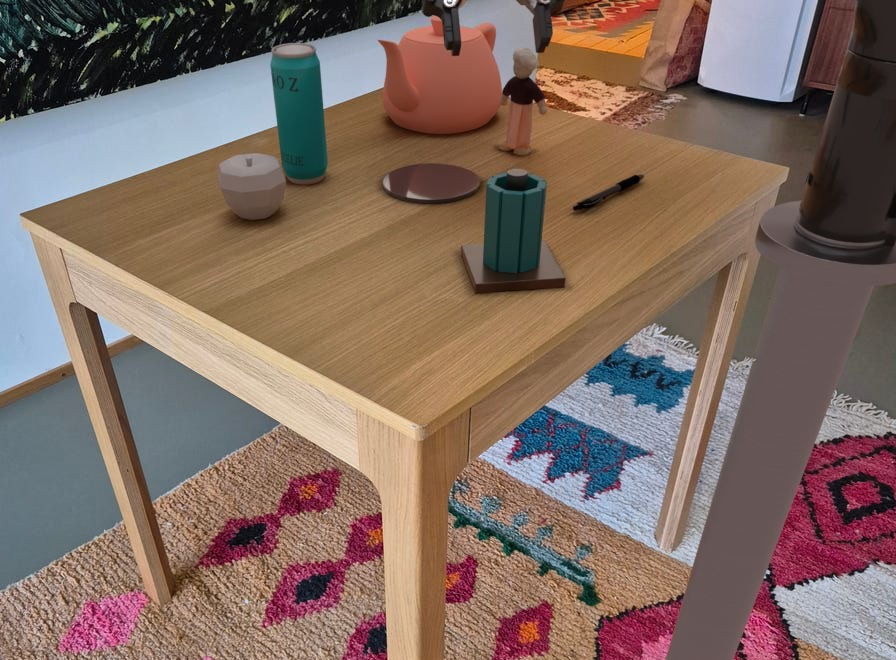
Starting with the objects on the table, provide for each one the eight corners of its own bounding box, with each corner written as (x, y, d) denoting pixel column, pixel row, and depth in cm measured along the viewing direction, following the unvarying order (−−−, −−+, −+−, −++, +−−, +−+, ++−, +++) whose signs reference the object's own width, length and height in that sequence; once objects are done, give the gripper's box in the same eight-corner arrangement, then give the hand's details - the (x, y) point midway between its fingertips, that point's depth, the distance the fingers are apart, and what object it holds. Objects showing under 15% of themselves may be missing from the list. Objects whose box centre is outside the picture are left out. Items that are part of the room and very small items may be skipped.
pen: (581, 216, 95) (582, 206, 94) (569, 212, 96) (570, 202, 95) (650, 182, 103) (651, 173, 102) (638, 179, 103) (640, 170, 103)
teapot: (427, 155, 111) (427, 45, 103) (338, 129, 120) (330, 25, 111) (533, 109, 126) (541, 9, 117) (447, 89, 134) (448, -6, 125)
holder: (543, 247, 89) (552, 153, 83) (564, 287, 82) (576, 187, 76) (460, 253, 89) (463, 158, 82) (475, 293, 82) (479, 192, 75)
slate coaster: (486, 170, 107) (487, 166, 106) (470, 207, 98) (470, 203, 98) (396, 164, 109) (396, 160, 109) (371, 199, 100) (371, 195, 100)
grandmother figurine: (486, 149, 113) (491, 46, 104) (501, 141, 115) (506, 40, 107) (537, 160, 109) (545, 55, 101) (550, 152, 112) (560, 48, 103)
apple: (213, 227, 94) (202, 169, 90) (232, 200, 100) (224, 144, 96) (281, 229, 94) (274, 171, 89) (297, 202, 100) (291, 146, 95)
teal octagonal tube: (542, 251, 86) (549, 174, 81) (535, 275, 82) (542, 196, 77) (488, 246, 87) (492, 170, 82) (479, 270, 83) (482, 191, 78)
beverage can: (299, 167, 108) (286, 40, 99) (337, 173, 107) (327, 45, 97) (274, 182, 105) (258, 51, 95) (313, 189, 103) (301, 56, 93)
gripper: (416, -135, 79) (431, 29, 77) (563, -138, 80) (580, 23, 79) (410, -76, 86) (424, 74, 85) (545, -79, 87) (560, 68, 86)
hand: (499, 49), depth 82 cm, fingers open, 8 cm apart
